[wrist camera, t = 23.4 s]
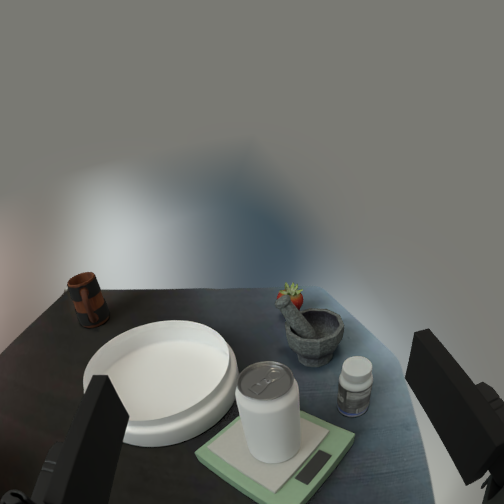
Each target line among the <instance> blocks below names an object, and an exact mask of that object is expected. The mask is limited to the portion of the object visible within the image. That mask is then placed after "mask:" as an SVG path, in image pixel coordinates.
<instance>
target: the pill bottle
mask: <svg viewBox="0 0 504 504" xmlns="http://www.w3.org/2000/svg"><path fill="white" fill-rule="evenodd" d="M372 384H373V375H372V364H371V362H370V361H369V360H368V359H367V358H364V357H360V356H354V357H350V358H348V359H347V360H345V362H344V363H343V367H342V373H341V374H340V377H339V385H338V400H337V407H338V410H339V411H340V413H342V414H343V415H345V416H348V417H356V416H360V415H362V414H363V413H365V412H366V410H367V408H368V405H369V400H370V395H371V389H372Z"/></svg>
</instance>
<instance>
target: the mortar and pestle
mask: <svg viewBox="0 0 504 504" xmlns="http://www.w3.org/2000/svg"><path fill="white" fill-rule="evenodd" d="M275 306H276V308H278V309H280V311H281V312H282V314H283V316H284V317H285V319H286V320H287V321H286V322H285V329H286V335H287V340H288V344H289V347H290V348H291V349H292V350H293V351H294V352H295V353H297V354H298V360H299V362H300V363H302V364H304V365H305V366H307V367H320V366H322V365H325V364H327V363H329V361H330V360H331V358H332V357H333V352H334V350H335V349H336V347H337V346H338V344H339V343H340V342H341V340H342V338H343V334H344V324H343V321H342V319H341V317H340V315H339V314H336V313H334V312H332V311H330V310H328V309H310V308H309V309H306V310H303V311H299V310H298V309H297V308H296V306H295V305H294V304H293V303H292V301H291V298H290V296H289V295H283V296H281V297H280V298H278V299H277V300H276V302H275Z"/></svg>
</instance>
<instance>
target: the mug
mask: <svg viewBox="0 0 504 504" xmlns="http://www.w3.org/2000/svg"><path fill="white" fill-rule="evenodd" d="M67 286H68V289H69V292H70V296H71V299H72V301H73V303H74V306H75V311H76V314H77V317H78V320H79V322H80V324H81V325H83V326H84V327H86V328H94V327H97V326H100V325H102V324H103V323H105V322H106V321H107V320H108V318H109V314H110V311H109V308H108V306H107V303H106V301H105V299H104V298H103V296H102V293H101V291H100V290H101V289H100V287H99V284H98V282H97V279H96V276H95V274H94V273H92V272H85V273H81V274H78V275H76V276H74V277H72V278H71V279H70V280H69V281H68V284H67Z"/></svg>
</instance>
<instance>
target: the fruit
mask: <svg viewBox="0 0 504 504" xmlns="http://www.w3.org/2000/svg"><path fill="white" fill-rule="evenodd" d="M286 288H287V289H286ZM293 288H294V283H292V285H291V288H290V287H289V286H288V284H287V283H285V290H280V291H279V292H280V293H279V294H278V296H277V299H278V298H280V297H281V296H283V295H289V296H290V298H291V301H292V303H293V304H294V305H295V306H296V308H297V309H298V310H299V309H300V307H301V306H302V304H303V296H302V294H301V293H300V292H301V291H302V290H303V289H301V290H297V288H298V284H297V285H296V286H295V288H294V289H293Z"/></svg>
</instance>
